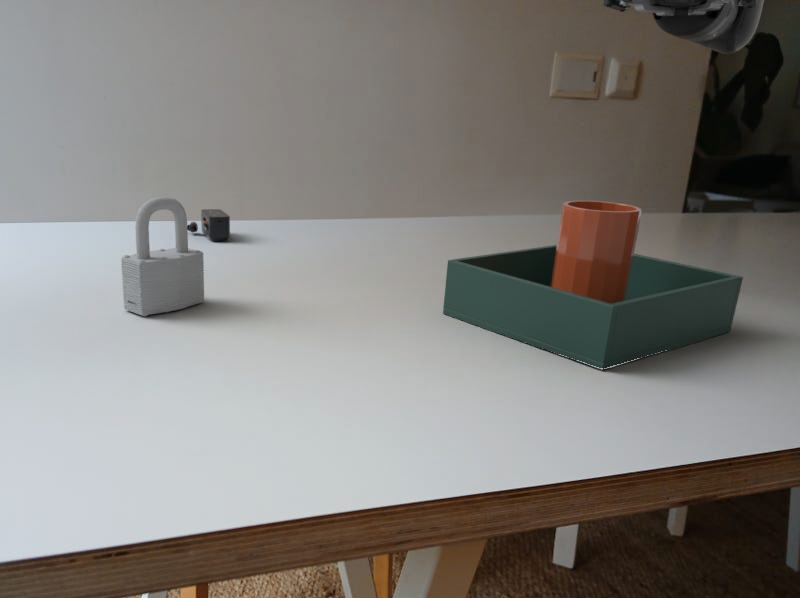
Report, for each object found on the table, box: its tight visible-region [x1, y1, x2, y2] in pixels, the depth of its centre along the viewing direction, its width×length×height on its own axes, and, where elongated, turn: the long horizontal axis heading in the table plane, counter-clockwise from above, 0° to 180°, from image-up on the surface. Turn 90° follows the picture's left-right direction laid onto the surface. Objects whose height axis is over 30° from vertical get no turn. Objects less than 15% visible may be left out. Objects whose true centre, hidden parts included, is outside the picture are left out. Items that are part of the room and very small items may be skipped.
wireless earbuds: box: [187, 208, 231, 242], centre depth 99 cm, size 5×7×3 cm, turn 19°
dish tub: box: [442, 244, 744, 369], centre depth 67 cm, size 19×17×5 cm
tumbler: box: [551, 200, 643, 304], centre depth 66 cm, size 6×6×10 cm
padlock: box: [120, 196, 205, 317], centre depth 66 cm, size 7×4×10 cm, turn 138°
